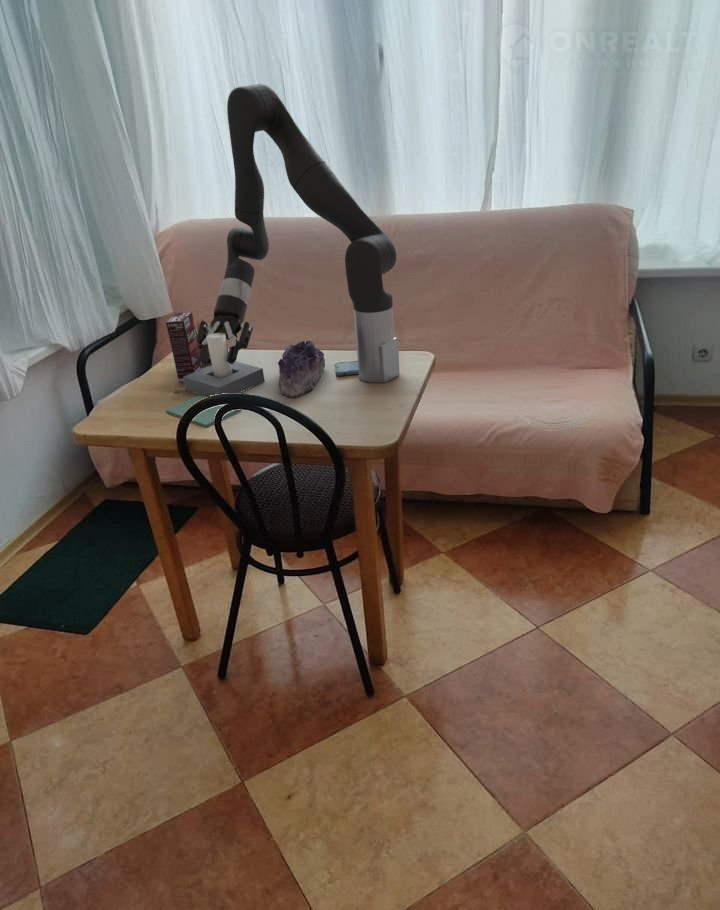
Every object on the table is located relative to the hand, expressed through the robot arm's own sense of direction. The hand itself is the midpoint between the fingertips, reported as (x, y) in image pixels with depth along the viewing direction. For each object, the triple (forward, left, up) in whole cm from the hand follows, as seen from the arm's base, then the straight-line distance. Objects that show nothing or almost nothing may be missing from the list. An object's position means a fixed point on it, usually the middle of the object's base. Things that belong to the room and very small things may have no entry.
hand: (217, 361), depth 154 cm
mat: (-7, +12, -7) cm, 15 cm away
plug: (+1, -1, -7) cm, 7 cm away
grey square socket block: (+1, -1, -7) cm, 7 cm away
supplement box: (+15, -1, -7) cm, 16 cm away
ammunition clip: (+19, -11, -7) cm, 23 cm away
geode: (-15, -13, -7) cm, 21 cm away
